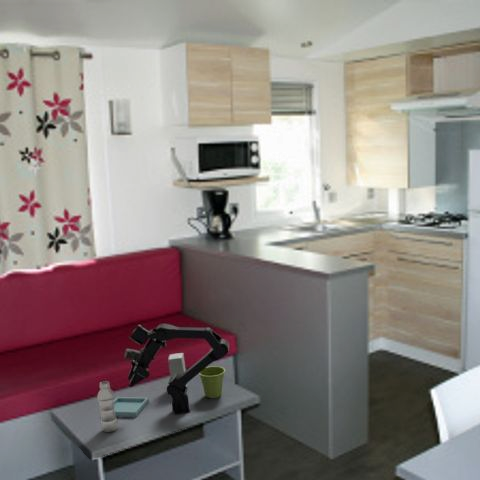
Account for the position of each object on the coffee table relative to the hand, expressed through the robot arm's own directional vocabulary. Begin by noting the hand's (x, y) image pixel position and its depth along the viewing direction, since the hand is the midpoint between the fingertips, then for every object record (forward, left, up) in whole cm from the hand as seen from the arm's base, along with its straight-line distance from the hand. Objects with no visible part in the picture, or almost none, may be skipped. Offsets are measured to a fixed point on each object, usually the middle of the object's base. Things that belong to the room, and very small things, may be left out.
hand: (129, 382), depth 275 cm
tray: (+2, -9, -15) cm, 17 cm away
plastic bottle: (+10, +9, -15) cm, 20 cm away
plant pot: (-36, -8, -15) cm, 40 cm away
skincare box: (-23, -22, -15) cm, 35 cm away
